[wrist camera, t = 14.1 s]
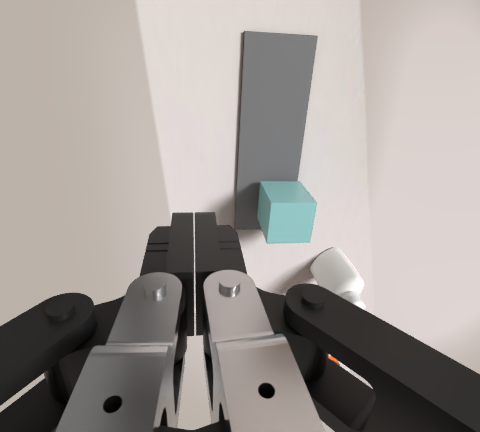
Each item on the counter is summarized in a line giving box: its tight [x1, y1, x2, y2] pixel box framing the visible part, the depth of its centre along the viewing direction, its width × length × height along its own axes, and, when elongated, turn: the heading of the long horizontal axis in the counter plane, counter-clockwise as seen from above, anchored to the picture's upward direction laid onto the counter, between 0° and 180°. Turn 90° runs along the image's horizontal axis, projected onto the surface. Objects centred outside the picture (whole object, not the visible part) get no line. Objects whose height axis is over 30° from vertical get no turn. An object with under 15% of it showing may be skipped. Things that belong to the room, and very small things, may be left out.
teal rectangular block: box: [257, 181, 317, 244], centre depth 40 cm, size 5×5×7 cm
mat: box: [235, 31, 318, 230], centre depth 40 cm, size 24×8×1 cm, turn 177°
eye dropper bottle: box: [310, 247, 365, 310], centre depth 45 cm, size 4×6×12 cm
